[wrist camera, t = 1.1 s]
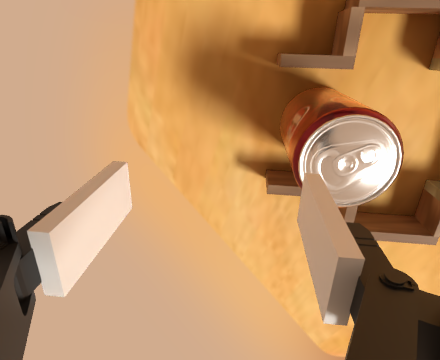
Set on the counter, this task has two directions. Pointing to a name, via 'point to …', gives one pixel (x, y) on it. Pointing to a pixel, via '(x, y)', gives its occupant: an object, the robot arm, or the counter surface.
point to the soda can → (341, 145)
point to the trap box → (344, 59)
